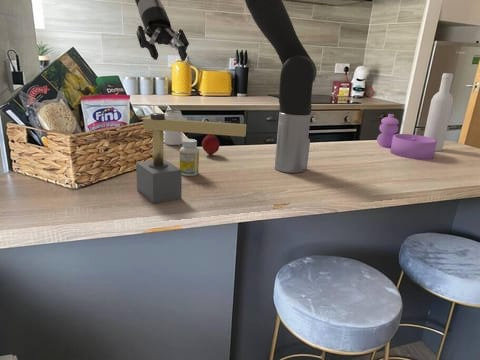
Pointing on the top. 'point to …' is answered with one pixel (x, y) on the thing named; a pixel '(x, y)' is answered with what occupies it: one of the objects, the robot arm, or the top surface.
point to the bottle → (440, 112)
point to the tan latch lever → (161, 124)
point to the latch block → (159, 181)
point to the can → (173, 136)
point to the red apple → (210, 144)
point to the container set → (405, 141)
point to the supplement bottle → (189, 157)
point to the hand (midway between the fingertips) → (170, 58)
